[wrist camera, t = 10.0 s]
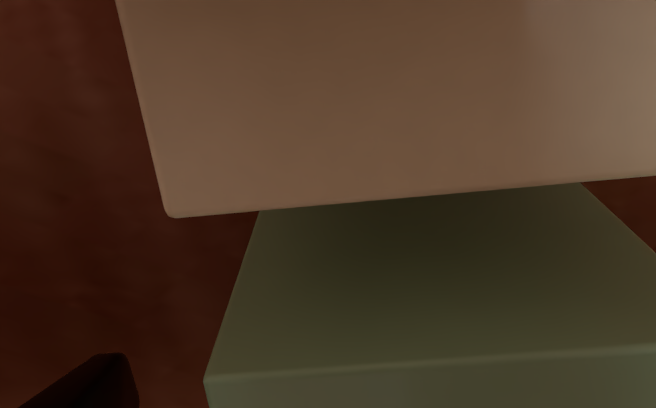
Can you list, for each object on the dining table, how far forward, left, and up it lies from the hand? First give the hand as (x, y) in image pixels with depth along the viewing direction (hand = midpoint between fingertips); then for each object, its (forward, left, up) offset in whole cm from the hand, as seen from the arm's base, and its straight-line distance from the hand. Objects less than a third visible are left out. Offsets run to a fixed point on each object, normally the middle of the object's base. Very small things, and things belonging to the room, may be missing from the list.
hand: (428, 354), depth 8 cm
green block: (0, 0, -2) cm, 2 cm away
